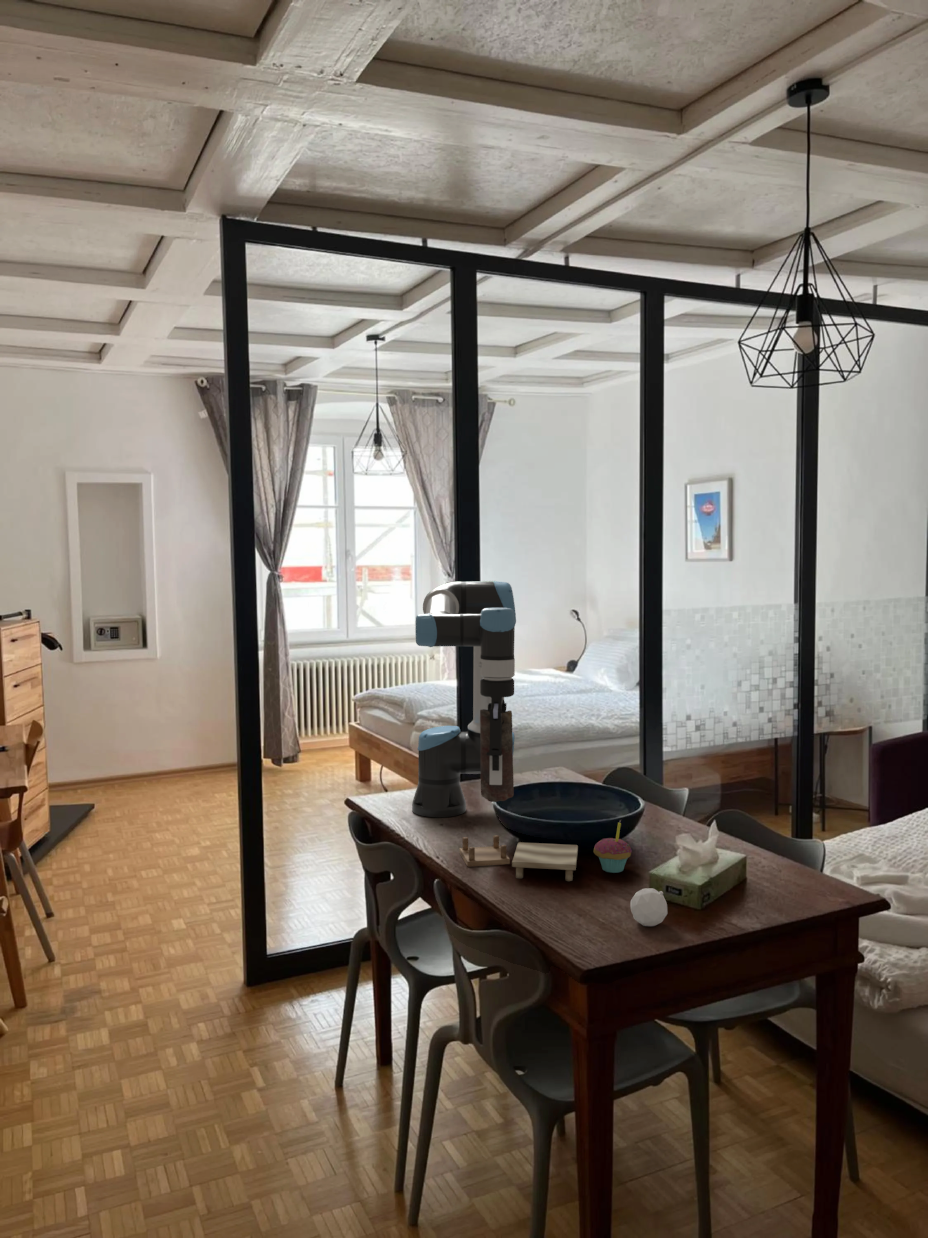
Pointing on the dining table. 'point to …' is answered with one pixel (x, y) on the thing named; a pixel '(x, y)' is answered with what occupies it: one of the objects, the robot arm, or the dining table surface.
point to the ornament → (648, 907)
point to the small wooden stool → (545, 857)
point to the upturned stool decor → (484, 854)
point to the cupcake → (613, 853)
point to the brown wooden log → (507, 787)
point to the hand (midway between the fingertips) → (496, 779)
